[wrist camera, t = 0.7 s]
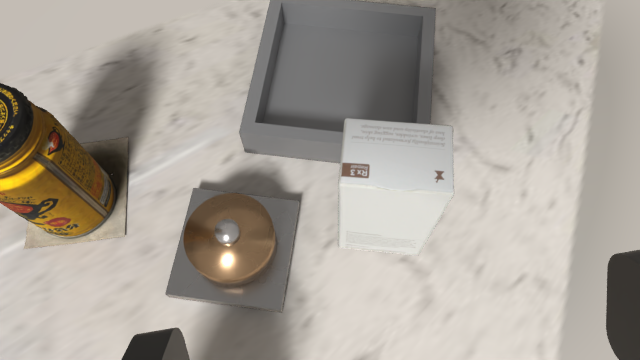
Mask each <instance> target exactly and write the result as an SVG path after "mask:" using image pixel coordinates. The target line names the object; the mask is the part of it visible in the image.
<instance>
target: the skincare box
mask: <svg viewBox="0 0 640 360" xmlns="http://www.w3.org/2000/svg"><path fill="white" fill-rule="evenodd" d="M338 190H339V194H338V247H339V248H345V249H355V250H365V251H375V252H385V253H395V254H404V255H414V256H417V255H419V253H420V252H421V250H422V248H423V247H424V245H425V243H426V241H427V240H428V238H429V236H430V235H431V233H432V231H433V230H434V228H435V226H436V225H437V223H438V221H439V219H440V218H441V216H442V214H443V213H444V211H445V209H446V207H447V205H448V203H449V202H450V200H451V199H452V197H453V196H454V170H453V127H452V126H449V125H433V124H419V123H404V122H390V121H376V120H363V119H350V118H346V119H345V121H344V129H343V141H342V151H341V161H340V170H339V180H338Z"/></svg>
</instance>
